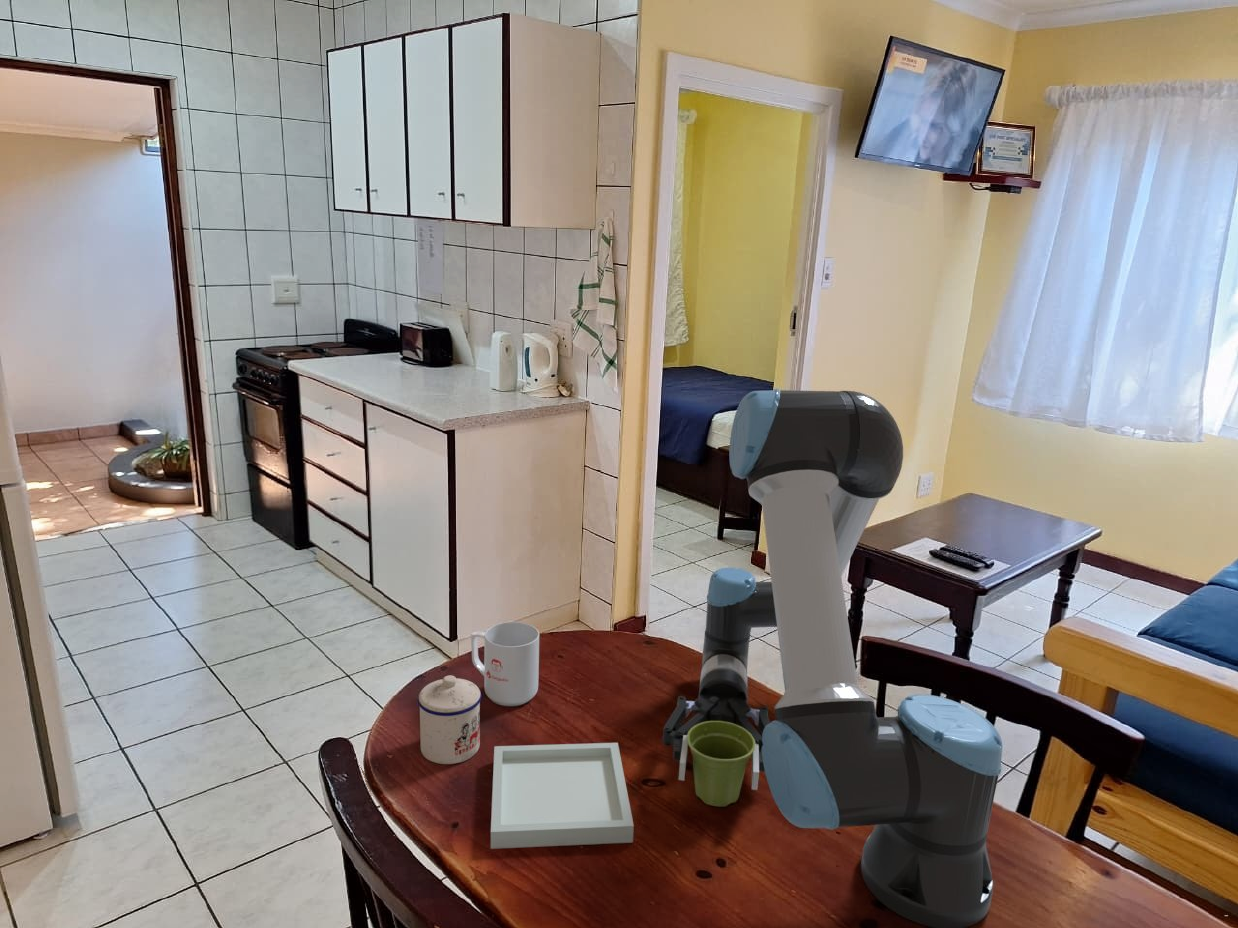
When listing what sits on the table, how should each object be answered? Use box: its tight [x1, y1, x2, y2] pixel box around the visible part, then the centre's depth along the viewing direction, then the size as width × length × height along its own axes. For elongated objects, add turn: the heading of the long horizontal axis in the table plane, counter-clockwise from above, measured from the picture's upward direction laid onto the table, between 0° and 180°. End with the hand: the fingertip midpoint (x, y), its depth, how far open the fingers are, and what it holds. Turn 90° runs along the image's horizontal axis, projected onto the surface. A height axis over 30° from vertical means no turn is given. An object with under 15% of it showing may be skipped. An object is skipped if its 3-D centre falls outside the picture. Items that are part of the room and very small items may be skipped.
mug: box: [470, 621, 540, 707], centre depth 140 cm, size 12×9×11 cm
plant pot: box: [687, 721, 755, 808], centre depth 118 cm, size 9×9×9 cm
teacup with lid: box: [417, 674, 482, 765], centre depth 126 cm, size 12×9×12 cm
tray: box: [490, 742, 635, 850], centre depth 116 cm, size 18×18×2 cm
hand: (718, 776), depth 113 cm, fingers open, 9 cm apart
